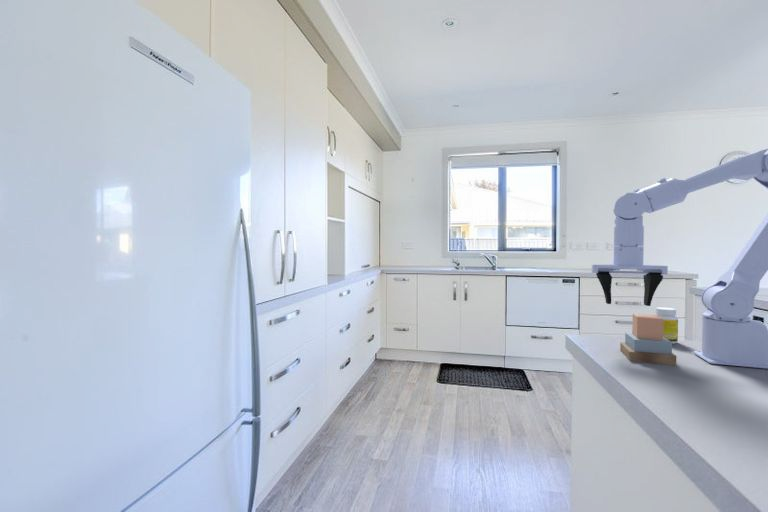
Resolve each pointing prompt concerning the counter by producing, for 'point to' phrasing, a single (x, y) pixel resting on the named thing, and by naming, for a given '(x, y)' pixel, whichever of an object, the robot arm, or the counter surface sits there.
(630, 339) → the slate middle block
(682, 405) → the counter surface
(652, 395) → the counter surface
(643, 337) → the terracotta block
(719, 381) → the counter surface
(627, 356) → the walnut base block
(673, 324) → the supplement bottle
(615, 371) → the counter surface
